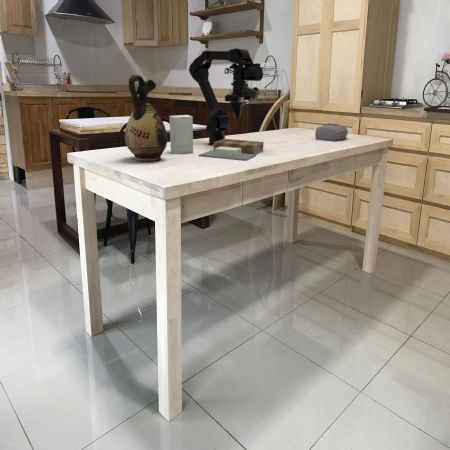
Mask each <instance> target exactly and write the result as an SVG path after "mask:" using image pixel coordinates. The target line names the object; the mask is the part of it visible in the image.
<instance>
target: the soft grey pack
mask: <svg viewBox="0 0 450 450" xmlns="http://www.w3.org/2000/svg"><path fill="white" fill-rule="evenodd" d="M348 133H349V131H348V128H347V127H346V126H344V125H342V124H338V123H331V122H330V123H326V124H323V125H321V126H318V127H317V128H316V130H315V133H314V135H315V138H316V140H319V141H326V142H338V141H339V142H340V141H342V140H343V141H344V140H345V139H346V138H347V136H348Z"/></svg>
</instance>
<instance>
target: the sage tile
mask: <svg viewBox="0 0 450 450" xmlns="http://www.w3.org/2000/svg"><path fill="white" fill-rule="evenodd" d="M215 155H221V156H232V157H237V156H239V155H241V148H232V147H218V148H215Z"/></svg>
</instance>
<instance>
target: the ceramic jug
mask: <svg viewBox="0 0 450 450" xmlns="http://www.w3.org/2000/svg"><path fill="white" fill-rule="evenodd" d="M135 82H138V84H137V85H138V86H137V88H136V85H135V84H136V83H135ZM156 88H157V85H156V83H155V82H154V80H153V79H151V78H150V79H148V80H146V81H145V80H144V78H143V77H142V76H141V75H138V74H133V75H130V77H129V78H128V89H129V91H130V92H129V93H130V95H131V98H132V102H133V106H134V108H133V111H132V112H131V114H130V115H129V119H128V120H127V124H126V127H125V131H124V132H125V133H124V141H125V145H126V148H127V149H128V150H129V151H130V153H132V155H133V156H134V157H135V160H136V161H139V162H140V161H142V162H143V161H145V162H147V161H150V162H151V161H154V162H155V161H160V160H162V159H161V158H162V155H163V153H164V151H165V150H166V147H167V144H168V133H167V129H166V127H165V124H164V121H163V120H162V118H161V117H160V115H159V113H158V112H157V110H156V109H155V108H154V106H152V104H151V101H149V97H148V94H149V93H150V92H152V91H154V90H155V89H156Z"/></svg>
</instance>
